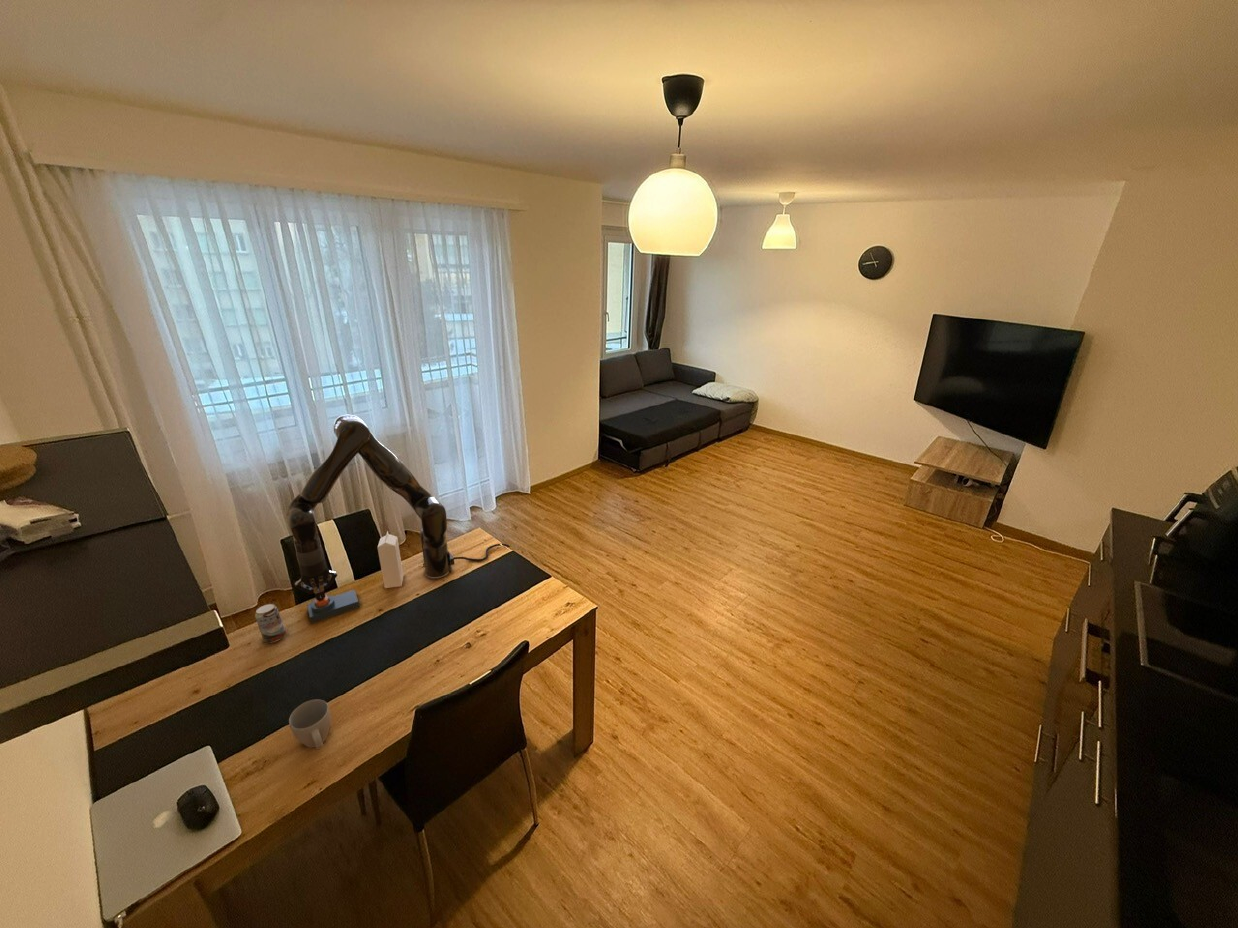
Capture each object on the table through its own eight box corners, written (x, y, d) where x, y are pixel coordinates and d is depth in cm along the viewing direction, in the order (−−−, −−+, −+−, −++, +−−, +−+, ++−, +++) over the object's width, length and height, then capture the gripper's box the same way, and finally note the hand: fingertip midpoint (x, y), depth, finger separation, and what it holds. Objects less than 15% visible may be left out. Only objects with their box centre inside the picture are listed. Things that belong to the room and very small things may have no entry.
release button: (328, 598, 171) (327, 593, 170) (330, 604, 168) (328, 600, 167) (315, 602, 168) (313, 597, 167) (316, 609, 165) (315, 604, 165)
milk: (384, 588, 183) (375, 540, 173) (387, 578, 188) (378, 531, 178) (401, 586, 184) (393, 538, 175) (404, 576, 189) (396, 529, 180)
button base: (355, 595, 178) (353, 585, 176) (359, 607, 173) (357, 597, 171) (308, 610, 170) (305, 600, 168) (311, 623, 164) (308, 613, 162)
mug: (293, 735, 128) (285, 711, 124) (330, 716, 134) (323, 692, 130) (303, 770, 121) (295, 745, 117) (342, 748, 126) (335, 724, 122)
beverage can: (269, 648, 154) (260, 619, 149) (258, 638, 157) (248, 609, 152) (290, 636, 159) (282, 608, 154) (279, 626, 162) (270, 599, 157)
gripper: (288, 570, 153) (300, 612, 161) (335, 557, 161) (344, 598, 168) (286, 558, 159) (297, 599, 166) (331, 546, 166) (340, 586, 173)
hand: (321, 599), depth 167 cm, fingers closed
